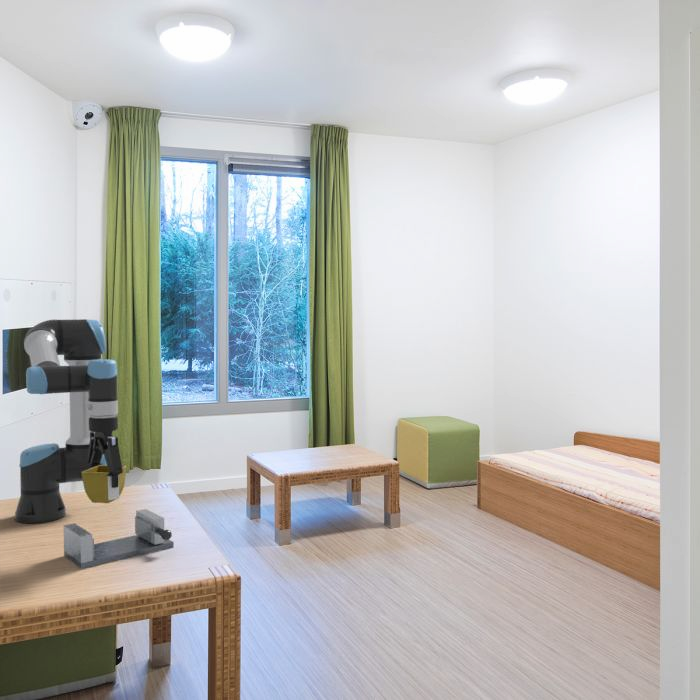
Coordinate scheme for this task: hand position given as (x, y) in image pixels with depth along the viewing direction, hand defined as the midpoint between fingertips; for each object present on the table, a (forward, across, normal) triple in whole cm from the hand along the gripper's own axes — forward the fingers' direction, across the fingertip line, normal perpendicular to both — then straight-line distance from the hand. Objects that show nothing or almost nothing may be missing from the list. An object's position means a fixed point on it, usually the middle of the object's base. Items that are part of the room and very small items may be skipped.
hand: (104, 494), depth 189 cm
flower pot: (+2, 0, 0) cm, 2 cm away
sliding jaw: (+15, +3, +13) cm, 20 cm away
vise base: (+17, 0, +4) cm, 17 cm away
